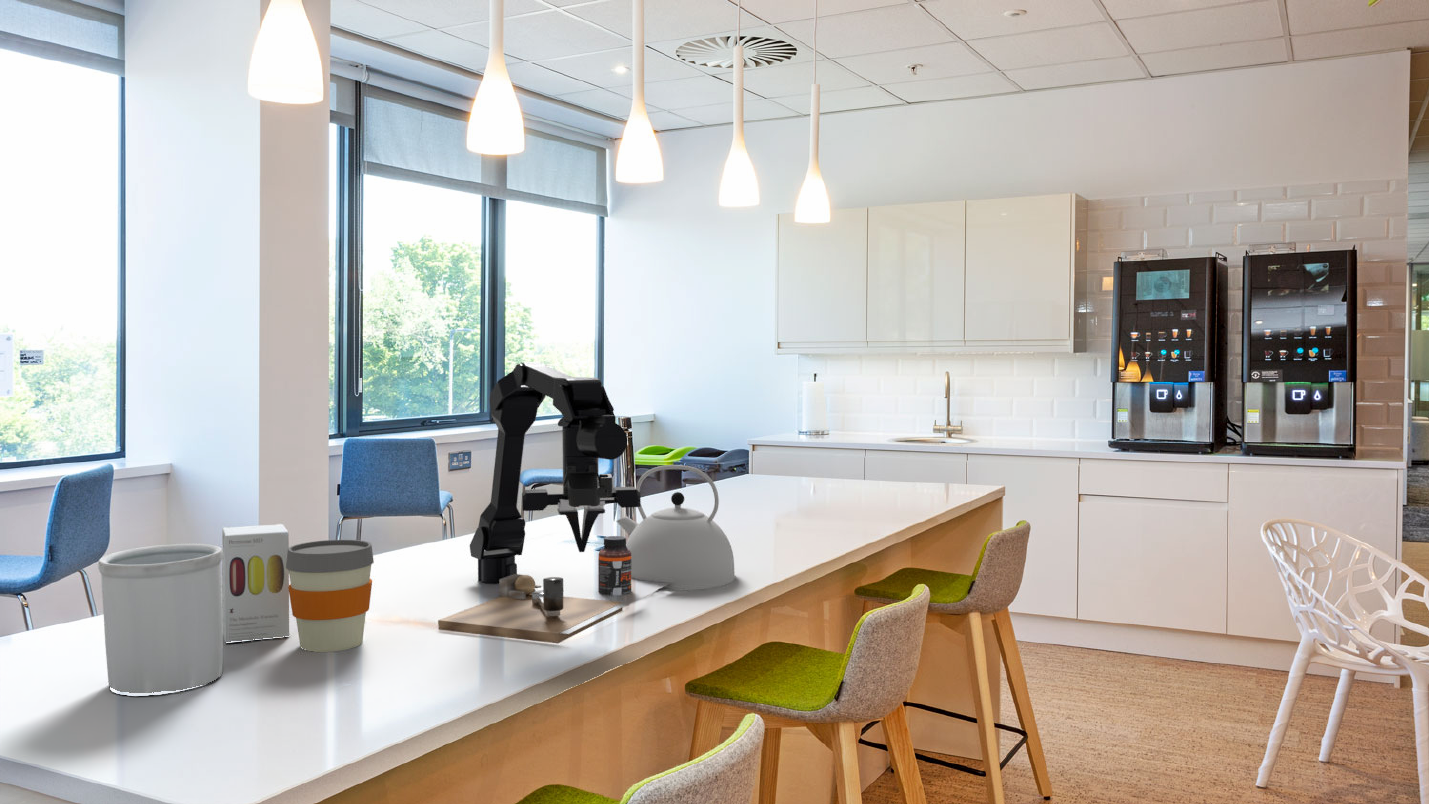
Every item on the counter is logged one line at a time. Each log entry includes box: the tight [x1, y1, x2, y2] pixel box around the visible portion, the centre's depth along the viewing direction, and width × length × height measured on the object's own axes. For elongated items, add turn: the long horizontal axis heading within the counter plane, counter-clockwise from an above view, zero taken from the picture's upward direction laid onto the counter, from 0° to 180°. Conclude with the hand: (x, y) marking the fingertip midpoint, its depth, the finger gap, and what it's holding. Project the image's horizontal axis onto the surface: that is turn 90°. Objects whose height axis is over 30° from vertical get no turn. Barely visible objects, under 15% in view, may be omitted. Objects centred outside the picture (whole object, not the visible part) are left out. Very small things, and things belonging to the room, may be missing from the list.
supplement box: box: [221, 523, 290, 643], centre depth 165 cm, size 10×9×17 cm
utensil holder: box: [97, 543, 224, 693], centre depth 142 cm, size 15×15×18 cm
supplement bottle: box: [597, 535, 632, 596], centre depth 189 cm, size 6×6×11 cm
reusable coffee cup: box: [286, 539, 375, 653], centre depth 160 cm, size 13×13×15 cm
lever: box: [532, 576, 564, 616], centre depth 176 cm, size 18×4×6 cm, turn 17°
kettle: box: [616, 464, 736, 591], centre depth 208 cm, size 25×23×23 cm
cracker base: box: [437, 573, 623, 644], centre depth 176 cm, size 22×24×4 cm
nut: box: [515, 574, 536, 595], centre depth 186 cm, size 4×4×4 cm
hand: (581, 551), depth 170 cm, fingers closed
